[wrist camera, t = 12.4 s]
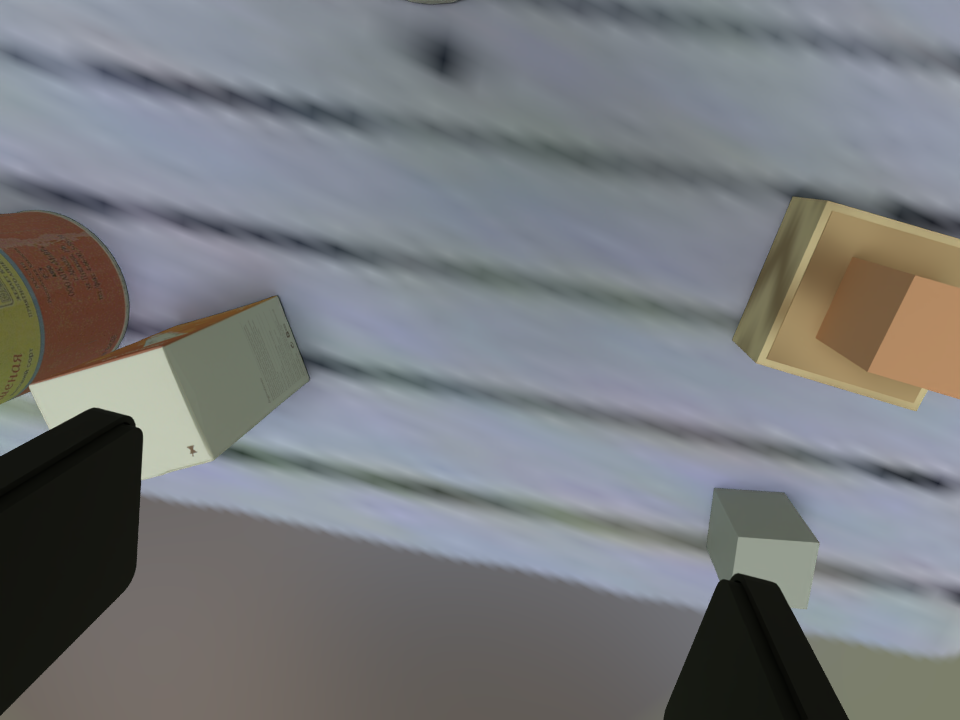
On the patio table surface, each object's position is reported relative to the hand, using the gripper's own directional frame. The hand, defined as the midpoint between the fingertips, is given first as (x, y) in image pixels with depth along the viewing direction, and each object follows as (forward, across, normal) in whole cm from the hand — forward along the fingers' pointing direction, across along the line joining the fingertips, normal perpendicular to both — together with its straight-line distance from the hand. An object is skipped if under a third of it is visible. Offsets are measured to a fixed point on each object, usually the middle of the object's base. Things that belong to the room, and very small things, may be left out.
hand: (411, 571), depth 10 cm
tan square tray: (+31, -19, -3) cm, 37 cm away
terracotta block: (+26, -19, -3) cm, 32 cm away
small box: (+32, +17, +10) cm, 37 cm away
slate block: (+31, -19, +13) cm, 39 cm away
